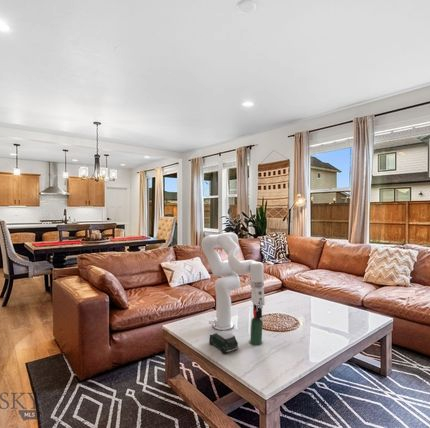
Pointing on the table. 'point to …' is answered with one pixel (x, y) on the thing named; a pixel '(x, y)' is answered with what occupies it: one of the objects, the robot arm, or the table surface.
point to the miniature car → (224, 341)
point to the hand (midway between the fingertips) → (257, 316)
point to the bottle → (256, 331)
